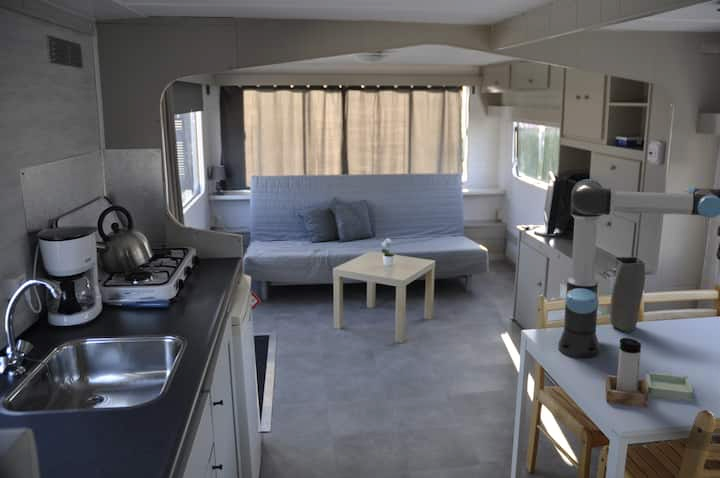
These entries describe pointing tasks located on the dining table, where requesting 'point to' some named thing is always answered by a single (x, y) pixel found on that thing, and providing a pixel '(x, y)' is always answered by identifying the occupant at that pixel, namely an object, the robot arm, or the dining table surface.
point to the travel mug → (628, 365)
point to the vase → (627, 292)
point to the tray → (668, 386)
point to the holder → (626, 393)
